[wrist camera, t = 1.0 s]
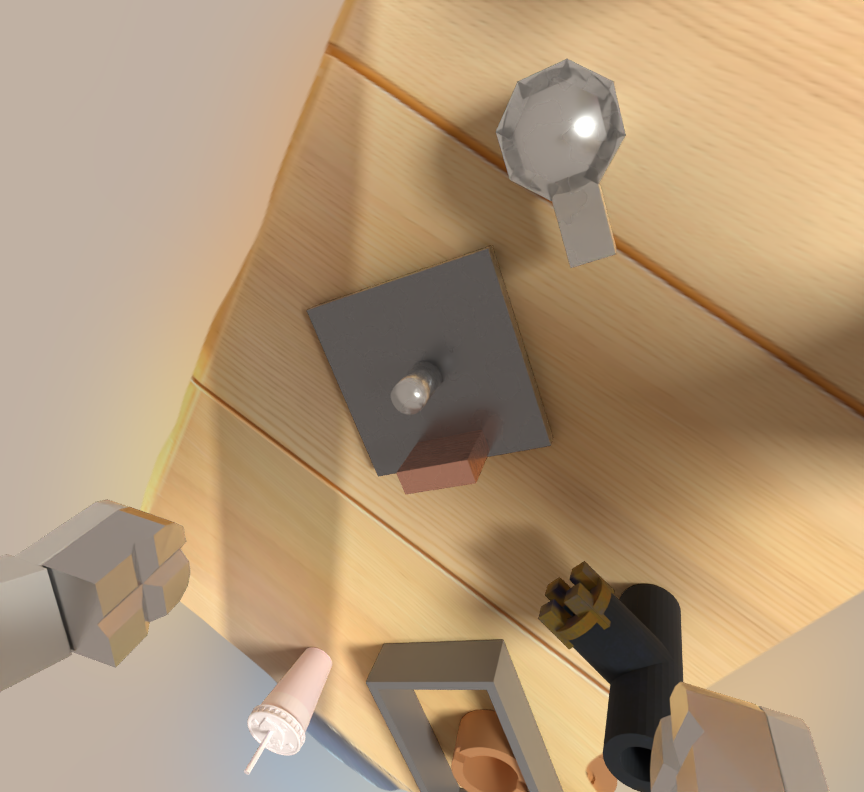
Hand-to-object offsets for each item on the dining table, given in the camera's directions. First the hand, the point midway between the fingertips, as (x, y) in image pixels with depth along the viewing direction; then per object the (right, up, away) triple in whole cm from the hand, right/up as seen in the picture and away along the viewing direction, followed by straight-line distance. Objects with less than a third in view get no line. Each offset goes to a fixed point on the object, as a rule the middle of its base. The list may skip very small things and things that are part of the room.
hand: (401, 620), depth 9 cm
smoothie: (-13, -28, +57) cm, 64 cm away
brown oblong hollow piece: (+13, -35, +55) cm, 66 cm away
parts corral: (+6, -33, +53) cm, 62 cm away
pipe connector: (+17, -13, +40) cm, 45 cm away
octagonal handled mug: (+10, +19, +28) cm, 35 cm away
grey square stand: (0, +6, +37) cm, 37 cm away
